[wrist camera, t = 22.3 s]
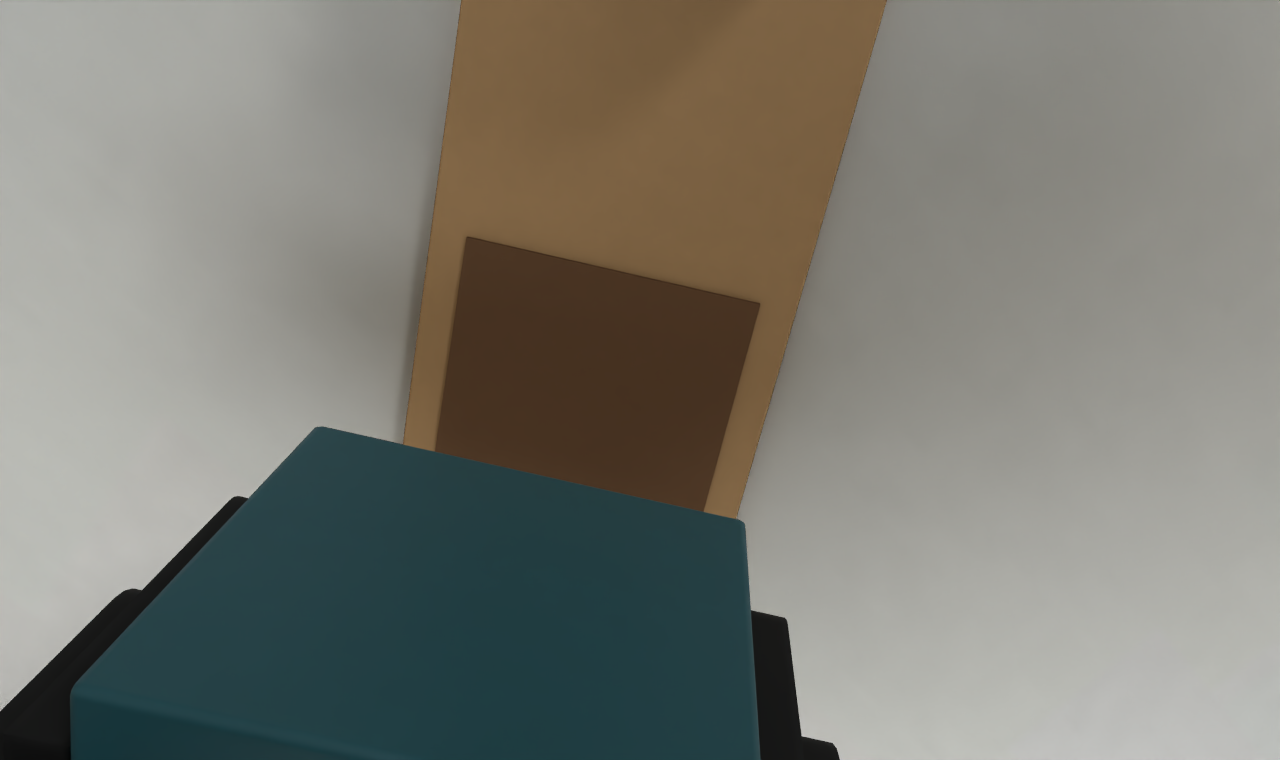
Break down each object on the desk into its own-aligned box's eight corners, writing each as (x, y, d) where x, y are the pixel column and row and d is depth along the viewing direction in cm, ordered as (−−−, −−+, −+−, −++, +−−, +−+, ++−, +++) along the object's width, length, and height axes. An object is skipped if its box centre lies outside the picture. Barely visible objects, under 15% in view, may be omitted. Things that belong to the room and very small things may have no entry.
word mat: (547, -607, 13) (541, -628, 13) (1026, -494, 14) (1037, -511, 13) (401, 486, 20) (393, 497, 20) (721, 558, 20) (721, 571, 20)
